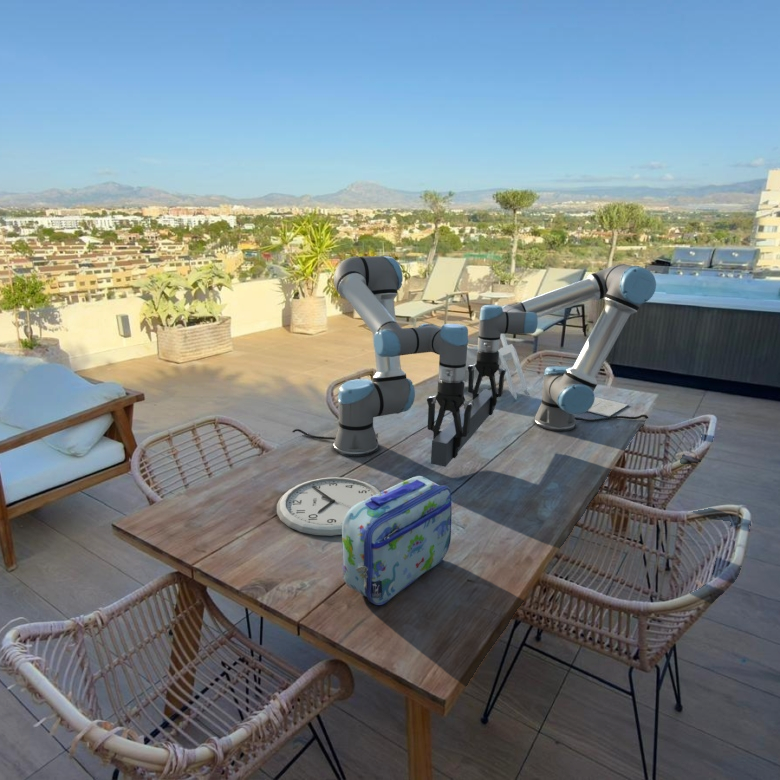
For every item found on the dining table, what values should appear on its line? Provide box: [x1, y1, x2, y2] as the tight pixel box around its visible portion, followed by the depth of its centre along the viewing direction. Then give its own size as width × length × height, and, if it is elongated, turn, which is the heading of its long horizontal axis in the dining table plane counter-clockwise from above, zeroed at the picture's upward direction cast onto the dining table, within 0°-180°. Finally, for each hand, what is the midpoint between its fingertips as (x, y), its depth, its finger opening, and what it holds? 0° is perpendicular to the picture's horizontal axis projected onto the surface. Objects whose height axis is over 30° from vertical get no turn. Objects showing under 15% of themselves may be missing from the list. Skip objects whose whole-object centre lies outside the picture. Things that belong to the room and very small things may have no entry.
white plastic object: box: [464, 334, 531, 400], centre depth 245 cm, size 37×45×31 cm
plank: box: [430, 388, 496, 468], centre depth 171 cm, size 54×4×7 cm, turn 154°
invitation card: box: [587, 396, 629, 417], centre depth 226 cm, size 21×1×15 cm
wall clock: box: [276, 476, 382, 537], centre depth 142 cm, size 30×2×30 cm
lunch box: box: [341, 475, 453, 606], centre depth 111 cm, size 26×11×21 cm, turn 134°
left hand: (446, 454), depth 155 cm, fingers closed on plank, 5 cm apart
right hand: (483, 412), depth 189 cm, fingers closed on plank, 5 cm apart
